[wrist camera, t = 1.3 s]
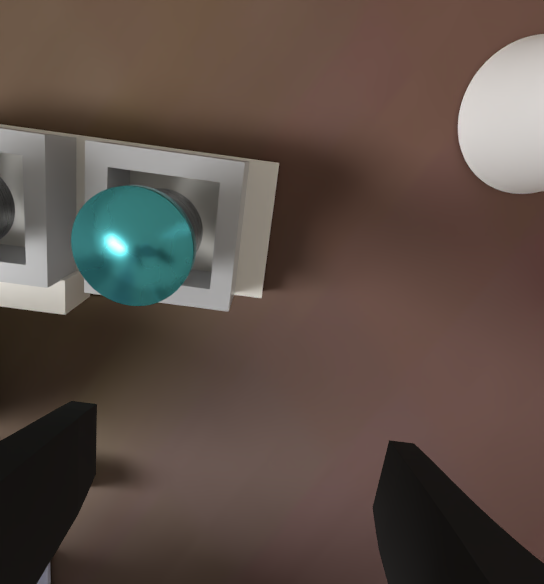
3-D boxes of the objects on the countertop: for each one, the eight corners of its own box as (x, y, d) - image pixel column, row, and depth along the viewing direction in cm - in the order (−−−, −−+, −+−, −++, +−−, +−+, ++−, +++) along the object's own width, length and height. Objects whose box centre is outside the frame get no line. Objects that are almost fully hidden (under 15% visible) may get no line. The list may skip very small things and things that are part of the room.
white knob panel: (234, 504, 24) (226, 561, 21) (-155, 458, 24) (-227, 508, 20) (279, 162, 19) (279, 163, 15) (-222, 93, 18) (-334, 78, 15)
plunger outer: (206, 281, 17) (188, 313, 14) (113, 269, 17) (71, 297, 13) (215, 186, 16) (197, 195, 12) (116, 173, 16) (70, 177, 12)
